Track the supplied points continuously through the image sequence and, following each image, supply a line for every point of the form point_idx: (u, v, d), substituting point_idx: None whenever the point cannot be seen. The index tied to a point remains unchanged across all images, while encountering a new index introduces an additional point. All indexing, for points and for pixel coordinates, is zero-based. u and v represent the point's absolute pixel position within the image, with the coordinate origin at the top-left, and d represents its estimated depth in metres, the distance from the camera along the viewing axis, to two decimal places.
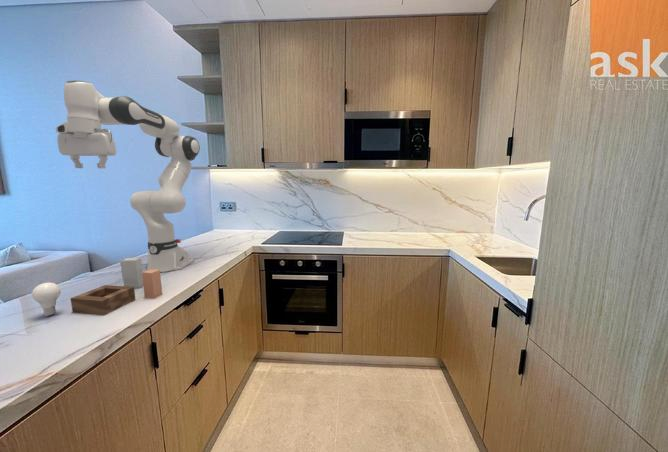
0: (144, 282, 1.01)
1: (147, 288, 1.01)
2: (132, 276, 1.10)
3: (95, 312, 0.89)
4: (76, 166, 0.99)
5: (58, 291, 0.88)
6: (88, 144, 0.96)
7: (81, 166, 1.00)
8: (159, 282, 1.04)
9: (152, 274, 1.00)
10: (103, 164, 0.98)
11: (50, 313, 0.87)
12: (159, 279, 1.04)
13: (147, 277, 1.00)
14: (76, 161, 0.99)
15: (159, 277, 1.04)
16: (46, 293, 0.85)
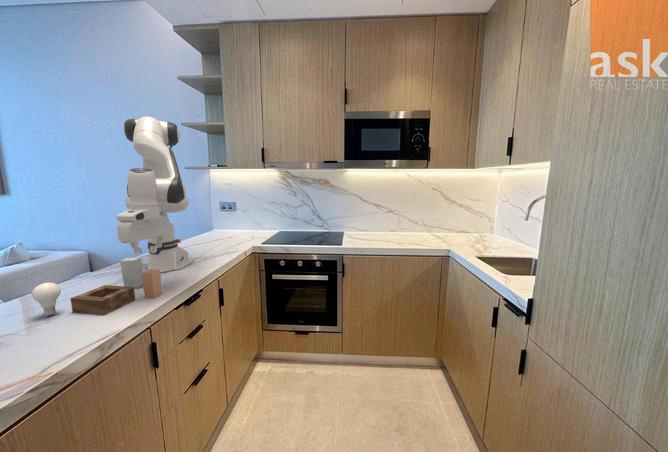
0: (144, 282, 1.01)
1: (147, 288, 1.01)
2: (132, 276, 1.10)
3: (95, 312, 0.89)
4: (140, 251, 0.96)
5: (58, 291, 0.88)
6: (156, 227, 1.02)
7: None
8: (159, 282, 1.04)
9: (152, 274, 1.00)
10: None
11: (50, 313, 0.87)
12: (159, 279, 1.04)
13: (147, 277, 1.00)
14: None
15: (159, 277, 1.04)
16: (46, 293, 0.85)
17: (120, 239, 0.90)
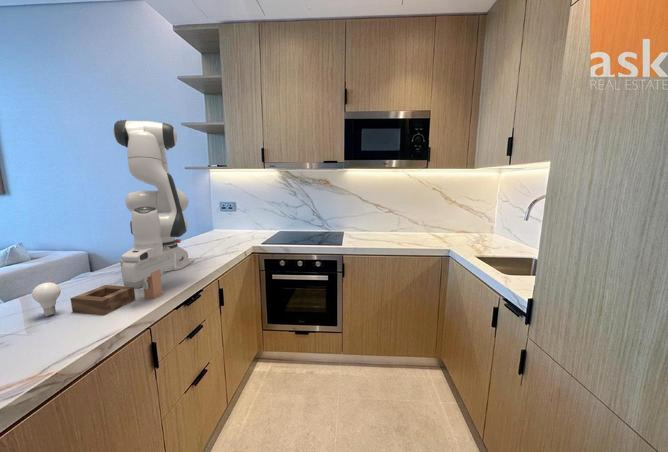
0: None
1: None
2: None
3: (95, 312, 0.89)
4: (148, 287, 1.00)
5: (58, 291, 0.88)
6: (160, 263, 1.04)
7: None
8: (159, 282, 1.04)
9: (152, 274, 1.00)
10: None
11: (50, 313, 0.87)
12: (159, 279, 1.04)
13: (147, 277, 1.00)
14: None
15: (159, 277, 1.04)
16: (46, 293, 0.85)
17: (125, 279, 0.92)
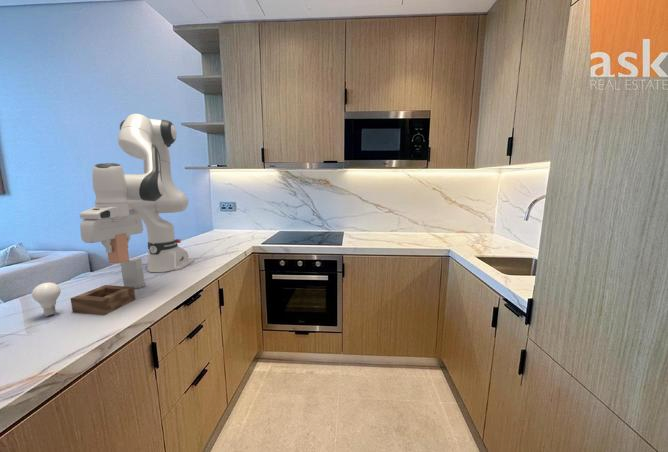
0: None
1: (111, 252, 0.93)
2: (132, 276, 1.10)
3: (95, 312, 0.89)
4: (112, 250, 0.92)
5: (58, 291, 0.88)
6: (126, 226, 0.96)
7: None
8: (125, 246, 0.96)
9: (116, 236, 0.92)
10: None
11: (50, 313, 0.87)
12: (125, 243, 0.96)
13: (111, 240, 0.92)
14: None
15: (125, 241, 0.96)
16: (46, 293, 0.85)
17: (83, 238, 0.84)
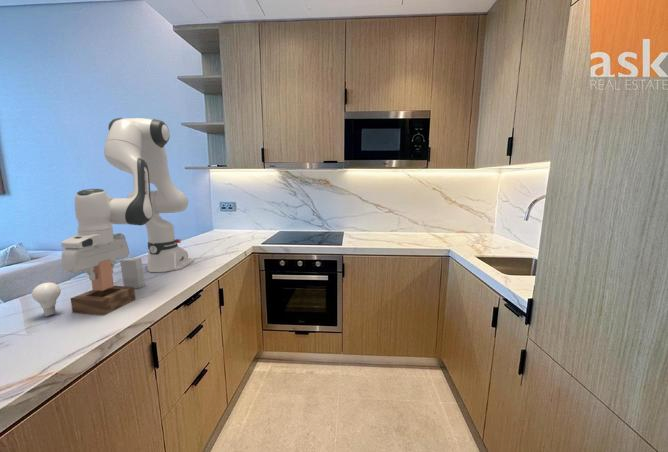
0: None
1: (95, 279, 0.92)
2: (132, 276, 1.10)
3: (95, 312, 0.89)
4: (95, 277, 0.91)
5: (58, 291, 0.88)
6: (110, 251, 0.95)
7: None
8: (109, 272, 0.94)
9: (100, 263, 0.91)
10: None
11: (50, 313, 0.87)
12: (109, 269, 0.94)
13: (94, 267, 0.91)
14: None
15: (109, 267, 0.94)
16: (46, 293, 0.85)
17: (64, 268, 0.83)
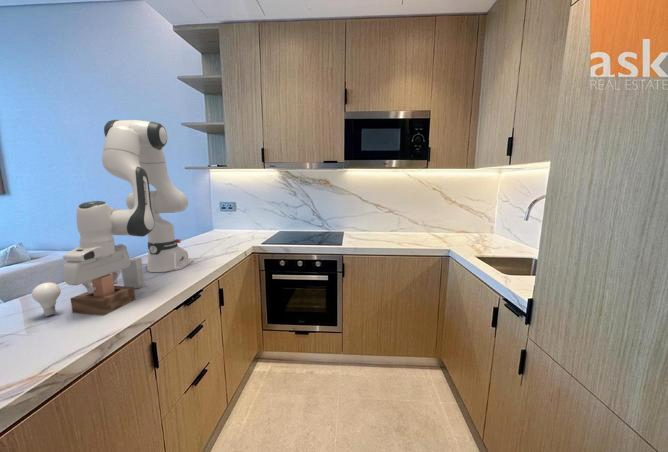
0: None
1: (97, 294, 0.93)
2: (132, 276, 1.10)
3: (95, 312, 0.89)
4: (94, 290, 0.90)
5: (58, 291, 0.88)
6: (112, 263, 0.95)
7: None
8: (111, 287, 0.95)
9: (102, 279, 0.92)
10: None
11: (50, 313, 0.87)
12: (112, 284, 0.95)
13: (97, 282, 0.92)
14: None
15: (112, 282, 0.95)
16: (46, 293, 0.85)
17: (66, 281, 0.84)
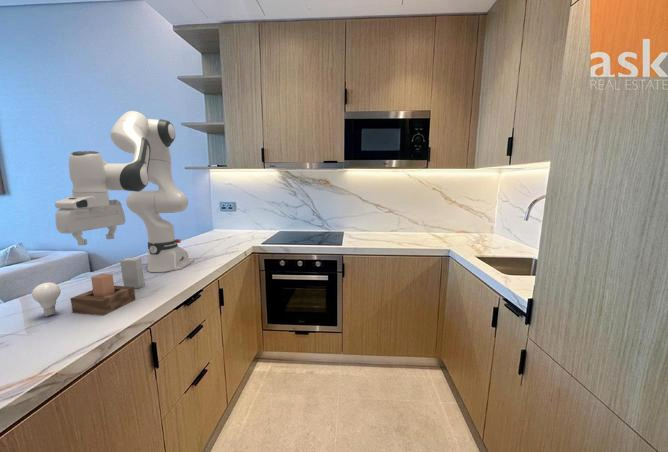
0: (94, 288, 0.92)
1: (97, 294, 0.93)
2: (132, 276, 1.10)
3: (95, 312, 0.89)
4: (84, 243, 0.87)
5: (58, 291, 0.88)
6: (106, 216, 0.93)
7: None
8: (111, 287, 0.95)
9: (102, 279, 0.92)
10: None
11: (50, 313, 0.87)
12: (112, 284, 0.95)
13: (97, 282, 0.92)
14: None
15: (112, 282, 0.95)
16: (46, 293, 0.85)
17: (58, 229, 0.81)
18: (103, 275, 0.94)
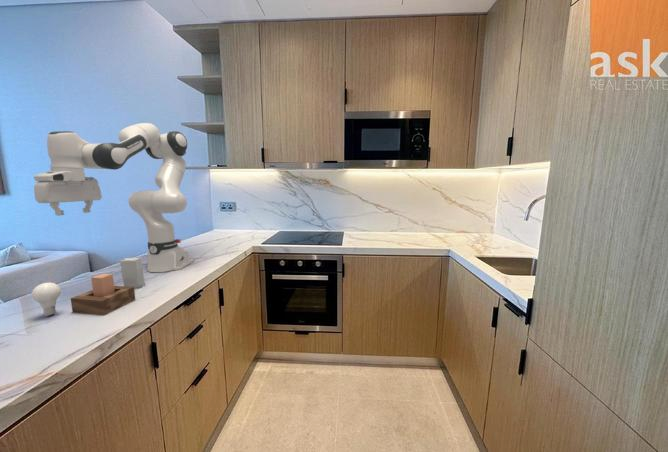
0: (94, 288, 0.92)
1: (97, 294, 0.93)
2: (132, 276, 1.10)
3: (95, 312, 0.89)
4: (61, 213, 0.97)
5: (58, 291, 0.88)
6: (82, 191, 1.03)
7: None
8: (111, 287, 0.95)
9: (102, 279, 0.92)
10: None
11: (50, 313, 0.87)
12: (112, 284, 0.95)
13: (97, 282, 0.92)
14: None
15: (112, 282, 0.95)
16: (46, 293, 0.85)
17: (37, 199, 0.91)
18: (103, 275, 0.94)
